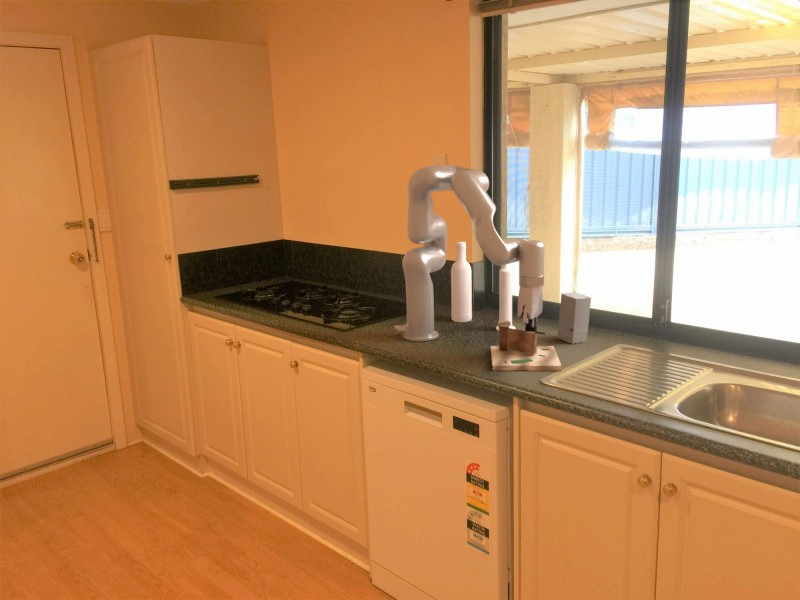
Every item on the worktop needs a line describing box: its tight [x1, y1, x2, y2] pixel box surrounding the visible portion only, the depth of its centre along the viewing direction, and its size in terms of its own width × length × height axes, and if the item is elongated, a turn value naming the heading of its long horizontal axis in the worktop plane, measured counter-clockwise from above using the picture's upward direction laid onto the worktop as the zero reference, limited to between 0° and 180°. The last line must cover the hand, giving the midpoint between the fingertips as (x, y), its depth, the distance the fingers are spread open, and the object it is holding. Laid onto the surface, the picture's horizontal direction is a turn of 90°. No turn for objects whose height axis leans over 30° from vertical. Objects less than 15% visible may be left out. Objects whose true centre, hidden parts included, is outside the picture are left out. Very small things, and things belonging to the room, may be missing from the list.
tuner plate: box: [490, 345, 563, 372], centre depth 208 cm, size 20×20×2 cm
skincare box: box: [557, 292, 592, 345], centre depth 226 cm, size 8×7×16 cm
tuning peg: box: [497, 320, 546, 354], centre depth 210 cm, size 16×4×9 cm, turn 53°
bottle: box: [450, 241, 473, 323], centre depth 256 cm, size 8×8×30 cm
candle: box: [495, 264, 516, 332], centre depth 241 cm, size 7×7×25 cm
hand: (530, 338), depth 211 cm, fingers closed
